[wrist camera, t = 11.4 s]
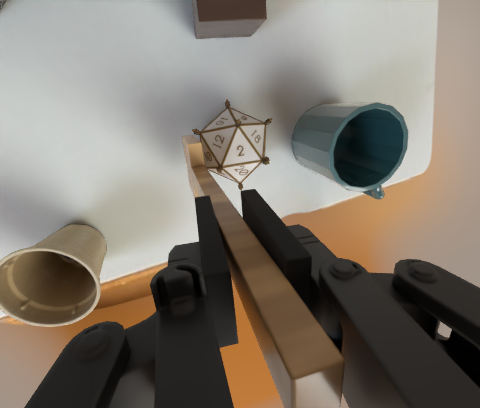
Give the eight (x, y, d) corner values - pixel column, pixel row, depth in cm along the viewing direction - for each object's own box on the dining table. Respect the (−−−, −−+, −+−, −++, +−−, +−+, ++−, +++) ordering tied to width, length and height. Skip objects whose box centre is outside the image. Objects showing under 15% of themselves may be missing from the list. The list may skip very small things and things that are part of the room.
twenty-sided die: (237, 137, 35) (297, 165, 30) (194, 179, 33) (251, 216, 27) (217, 76, 28) (291, 98, 22) (160, 124, 25) (228, 161, 20)
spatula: (200, 183, 30) (336, 459, 6) (190, 185, 29) (292, 478, 6) (192, 135, 28) (356, 276, 4) (181, 136, 27) (291, 294, 4)
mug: (279, 131, 32) (314, 140, 23) (335, 89, 32) (392, 83, 23) (319, 197, 37) (360, 226, 28) (368, 162, 36) (425, 180, 28)
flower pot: (104, 284, 35) (80, 337, 27) (27, 261, 32) (-26, 313, 24) (132, 229, 33) (114, 269, 25) (53, 199, 30) (5, 232, 22)
